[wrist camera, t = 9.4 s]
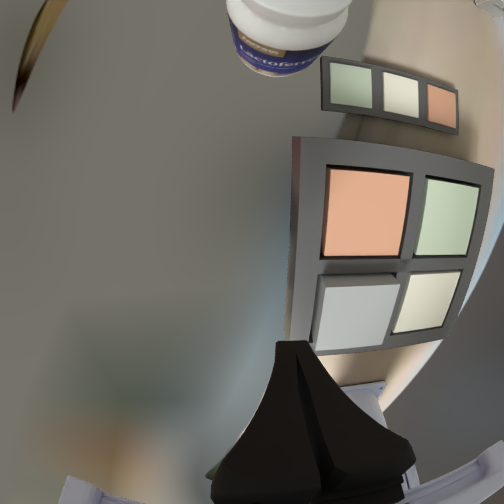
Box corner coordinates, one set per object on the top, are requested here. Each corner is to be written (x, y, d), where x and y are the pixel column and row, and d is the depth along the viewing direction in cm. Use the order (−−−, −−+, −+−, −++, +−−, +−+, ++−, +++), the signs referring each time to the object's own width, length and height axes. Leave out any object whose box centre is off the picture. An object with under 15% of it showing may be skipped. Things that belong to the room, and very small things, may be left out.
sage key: (446, 240, 20) (465, 254, 17) (398, 239, 20) (415, 254, 17) (456, 179, 18) (478, 188, 15) (407, 171, 18) (428, 179, 15)
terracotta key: (380, 239, 20) (397, 255, 17) (314, 238, 20) (324, 255, 17) (389, 169, 18) (409, 176, 15) (319, 164, 18) (330, 169, 15)
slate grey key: (369, 321, 22) (381, 344, 19) (309, 325, 22) (315, 350, 19) (383, 264, 19) (400, 284, 17) (316, 265, 19) (325, 287, 17)
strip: (453, 90, 15) (459, 90, 14) (454, 134, 17) (459, 135, 16) (320, 58, 15) (322, 55, 14) (320, 110, 17) (323, 109, 16)
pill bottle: (235, 79, 16) (217, 27, 7) (233, 11, 14) (217, -70, 5) (319, 80, 16) (380, 37, 7) (314, 13, 14) (357, -60, 4)
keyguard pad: (432, 316, 24) (448, 337, 21) (283, 329, 24) (287, 357, 21) (467, 161, 17) (494, 168, 14) (292, 136, 18) (300, 136, 14)
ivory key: (427, 307, 23) (441, 325, 20) (381, 312, 23) (393, 332, 20) (442, 257, 20) (460, 272, 18) (394, 257, 20) (411, 275, 18)
